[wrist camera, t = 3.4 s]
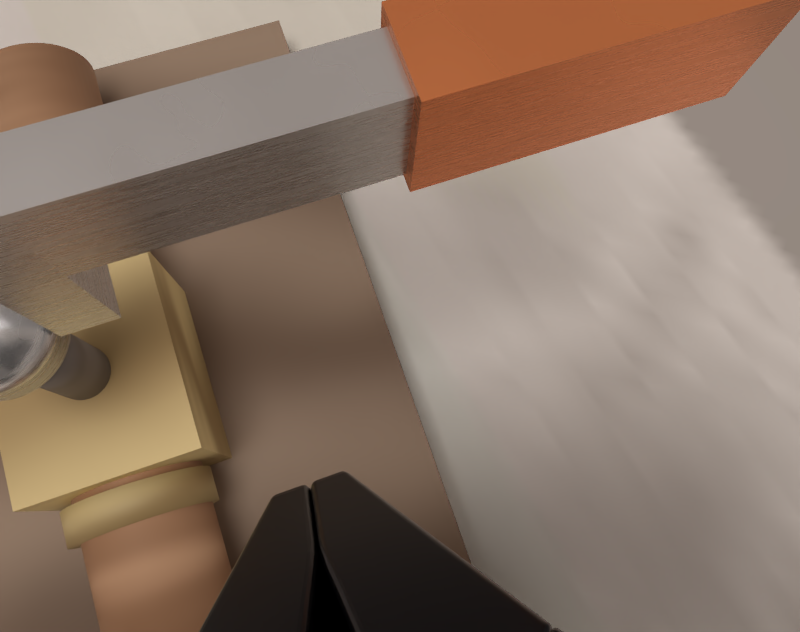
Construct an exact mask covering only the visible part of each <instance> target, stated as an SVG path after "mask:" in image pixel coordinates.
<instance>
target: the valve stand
mask: <svg viewBox="0 0 800 632" xmlns="http://www.w3.org/2000/svg"><path fill="white" fill-rule="evenodd" d="M289 53H290V51H289V48H288V45H287V42H286V40H285V37H284V34H283V31H282V28H281V26H280V23H279V21H275V22H272V23H268V24H264V25H260V26H257V27H253V28H249V29H246V30H242V31H238V32H234V33H231V34H227V35H223V36H219V37H216V38H212V39H208V40H204V41H201V42H197V43H193V44H190V45H186V46H182V47H178V48H175V49H171V50H167V51H163V52H160V53H156V54H152V55H148V56H145V57H141V58H137V59H134V60H130V61H126V62H122V63H119V64H115V65H111V66H107V67H104V68H100V69H96V70H93V68H92V66H91V64H90V63H89V62H88V61H87V60H86V59H85V58H84V57H83V56H81V55H80V54H78V53H76V52H75V51H72V50H70V49H68V48H65V47H61V46H57V45H53V44H45V43H25V44H18V45H13V46H9V47H6V48H3V49H0V133H1V132H4V131H8V130H12V129H15V128H19V127H23V126H26V125H30V124H34V123H37V122H41V121H45V120H48V119H52V118H56V117H59V116H63V115H66V114H70V113H74V112H77V111H81V110H85V109H88V108H92V107H96V106H99V105H103V104H107V103H110V102H114V101H117V100H121V99H125V98H128V97H132V96H136V95H139V94H143V93H147V92H150V91H154V90H158V89H161V88H165V87H169V86H172V85H176V84H179V83H183V82H187V81H190V80H194V79H198V78H201V77H205V76H209V75H212V74H216V73H220V72H223V71H227V70H231V69H234V68H238V67H241V66H245V65H249V64H252V63H256V62H260V61H263V60H267V59H271V58H274V57H278V56H282V55H285V54H289ZM108 268H109V272H110V276H111V280H112V284H113V287H114V291H115V295H116V299H117V303H118V306H119V310H120V314H121V318H119V319H116V320H113V321H109V322H106V323H103V324H100V325H96V326H93V327H90V328H87V329H84V330H80V331H77V332H74V333H71V336H70V343H69V347H68V351H67V353H66V356H65V358H64V360H63V362H62V364H61V366H60V367H59V368H58V370H57V371H56V373H55V374H54V375H53V376H52V377H51V378H50V379H49V380H48V381H47V382H46V383H45V384H43V385H42V386H41V387H39V388H38V389H36V390H35V391H33V392H31V393H29V394H27V395H25V396H22V397H20V398H16V399H12V400H7V401H0V632H199V630H200V628H201V627H202V625H203V623H204V621H205V619H206V617H207V615H208V614H209V612H210V610H211V608H212V606H213V604H214V603H215V601H216V599H217V597H218V595H219V593H220V591H221V590H222V588H223V586H224V584H225V582H226V580H227V578H228V577H229V575H230V573H231V571H232V569H233V567H234V566H235V564H236V562H237V560H238V558H239V556H240V554H241V553H242V551H243V549H244V547H245V545H246V543H247V541H248V540H249V538H250V536H251V534H252V532H253V530H254V529H255V527H256V525H257V523H258V521H259V519H260V517H261V516H262V514H263V512H264V510H265V508H266V506H267V504H268V503H269V501H270V499H271V498H272V497H273V496H274V495H276V494H279V493H281V492H284V491H287V490H290V489H293V488H296V487H298V486H301V485H306V486H308V487H309V488H310V489H311V485H312V483H313V482H314V481H316V480H318V479H321V478H324V477H327V476H330V475H332V474H335V473H338V472H341V471H345V472H348V473H349V474H351V475H352V476H353V477H355V478H356V479H357V480H359V481H360V482H361V483H363V484H364V485H365V486H367V487H368V488H369V489H371V490H372V491H373V492H375V493H376V494H377V495H379V496H380V497H381V498H383V499H384V500H385V501H387V502H388V503H389V504H391V505H392V506H393V507H395V508H396V509H397V510H399V511H400V512H401V513H403V514H404V515H405V516H407V517H408V518H409V519H411V520H412V521H413V522H415V523H416V524H417V525H419V526H420V527H421V528H423V529H424V530H425V531H427V532H428V533H429V534H431V535H432V536H433V537H435V538H436V539H437V540H439V541H440V542H441V543H443V544H444V545H445V546H447V547H448V548H449V549H451V550H452V551H453V552H455V553H456V554H457V555H459V556H460V557H461V558H463V559H464V560H465V561H467V562H468V563H470V564H471V562H470V559H469V556H468V553H467V551H466V548H465V545H464V542H463V539H462V537H461V534H460V531H459V528H458V525H457V522H456V520H455V517H454V514H453V511H452V508H451V505H450V503H449V500H448V497H447V494H446V491H445V489H444V486H443V483H442V480H441V477H440V474H439V472H438V469H437V466H436V463H435V460H434V457H433V455H432V452H431V449H430V446H429V443H428V441H427V438H426V435H425V432H424V429H423V426H422V424H421V421H420V418H419V415H418V412H417V409H416V407H415V404H414V401H413V398H412V395H411V393H410V390H409V387H408V384H407V381H406V378H405V376H404V373H403V370H402V367H401V364H400V361H399V359H398V356H397V353H396V350H395V347H394V345H393V342H392V339H391V336H390V333H389V330H388V328H387V325H386V322H385V319H384V316H383V313H382V311H381V308H380V305H379V302H378V299H377V297H376V294H375V291H374V288H373V285H372V282H371V280H370V277H369V274H368V271H367V268H366V265H365V263H364V260H363V257H362V254H361V251H360V249H359V246H358V243H357V240H356V237H355V234H354V232H353V229H352V226H351V223H350V220H349V217H348V215H347V212H346V209H345V206H344V203H343V201H342V198H341V195H340V194H338V195H335V196H332V197H328V198H325V199H322V200H318V201H315V202H312V203H308V204H305V205H302V206H298V207H295V208H292V209H289V210H285V211H282V212H279V213H275V214H272V215H269V216H265V217H262V218H259V219H255V220H252V221H249V222H246V223H242V224H239V225H236V226H232V227H229V228H226V229H222V230H219V231H216V232H212V233H209V234H206V235H202V236H199V237H196V238H193V239H189V240H186V241H183V242H179V243H176V244H173V245H169V246H166V247H163V248H159V249H156V250H153V251H150V252H146V253H143V254H140V255H136V256H133V257H130V258H126V259H123V260H120V261H116V262H113V263H110V264H108Z"/></svg>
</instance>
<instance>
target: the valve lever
mask: <svg viewBox="0 0 800 632" xmlns="http://www.w3.org/2000/svg"><path fill="white" fill-rule="evenodd" d="M799 10H800V0H386V1H382V10H381V28H380V29H376V30H373V31H369V32H365V33H362V34H358V35H354V36H351V37H347V38H344V39H340V40H336V41H333V42H329V43H325V44H322V45H318V46H314V47H311V48H307V49H303V50H300V51H296V52H293V53H289V54H285V55H282V56H278V57H274V58H271V59H267V60H263V61H260V62H256V63H252V64H249V65H245V66H241V67H238V68H234V69H231V70H227V71H223V72H220V73H216V74H212V75H209V76H205V77H201V78H198V79H194V80H190V81H187V82H183V83H179V84H176V85H172V86H169V87H165V88H161V89H158V90H154V91H150V92H147V93H143V94H139V95H136V96H132V97H128V98H125V99H121V100H117V101H114V102H110V103H107V104H103V105H99V106H96V107H92V108H88V109H85V110H81V111H77V112H74V113H70V114H66V115H63V116H59V117H56V118H52V119H48V120H45V121H41V122H37V123H34V124H30V125H26V126H23V127H19V128H15V129H12V130H8V131H4V132H1V133H0V401H7V400H12V399H16V398H20V397H22V396H25V395H27V394H29V393H31V392H33V391H35V390H36V389H38V388H39V387H41V386H42V385H43V384H45V383H46V382H47V381H48V380H49V379H50V378H51V377H52V376H53V375H54V374H55V373H56V371H57V370H58V368H59V367H60V366H61V364H62V362H63V360H64V358H65V356H66V353H67V351H68V347H69V343H70V336H71V333H74V332H77V331H80V330H84V329H87V328H90V327H93V326H96V325H100V324H103V323H106V322H109V321H113V320H116V319H119V318H121V314H120V310H119V306H118V303H117V299H116V295H115V291H114V287H113V284H112V280H111V276H110V272H109V268H108V264H110V263H113V262H116V261H120V260H123V259H126V258H130V257H133V256H136V255H140V254H143V253H146V252H150V251H153V250H156V249H159V248H163V247H166V246H169V245H173V244H176V243H179V242H183V241H186V240H189V239H193V238H196V237H199V236H202V235H206V234H209V233H212V232H216V231H219V230H222V229H226V228H229V227H232V226H236V225H239V224H242V223H246V222H249V221H252V220H255V219H259V218H262V217H265V216H269V215H272V214H275V213H279V212H282V211H285V210H289V209H292V208H295V207H298V206H302V205H305V204H308V203H312V202H315V201H318V200H322V199H325V198H328V197H332V196H335V195H338V194H341V193H345V192H348V191H351V190H355V189H358V188H361V187H365V186H368V185H371V184H375V183H378V182H381V181H385V180H388V179H391V178H394V177H398V176H401V175H404V177H405V180H406V183H407V185H408V188H409V190H410V192H412V191H415V190H418V189H421V188H425V187H428V186H431V185H435V184H438V183H441V182H444V181H448V180H451V179H454V178H457V177H461V176H464V175H467V174H471V173H474V172H477V171H480V170H484V169H487V168H490V167H493V166H497V165H500V164H503V163H506V162H510V161H513V160H516V159H520V158H523V157H526V156H529V155H533V154H536V153H539V152H542V151H546V150H549V149H552V148H556V147H559V146H562V145H565V144H569V143H572V142H575V141H578V140H582V139H585V138H588V137H592V136H595V135H598V134H601V133H605V132H608V131H611V130H614V129H618V128H621V127H624V126H628V125H631V124H634V123H637V122H641V121H644V120H647V119H650V118H654V117H657V116H660V115H664V114H667V113H670V112H673V111H676V110H680V109H683V108H686V107H689V106H693V105H696V104H699V103H703V102H706V101H709V100H712V99H715V98H719V97H722V96H725V95H726V94H727V93H728V92H729V91H730V89H731V88H732V87H733V86H734V85H735V84H736V83H737V82H738V80H739V79H740V78H741V77H742V76H743V75H744V74H745V72H746V71H747V70H748V69H749V68H750V66H751V65H752V64H753V63H754V62H755V61H756V60H757V59H758V57H759V56H760V55H761V54H762V53H763V52H764V51H765V49H766V48H767V47H768V46H769V45H770V44H771V43H772V41H773V40H774V39H775V38H776V37H777V36H778V34H779V33H780V32H781V31H782V30H783V29H784V28H785V26H786V25H787V24H788V23H789V22H790V21H791V20H792V18H793V17H794V16H795V15H796V14H797V13H798V11H799Z"/></svg>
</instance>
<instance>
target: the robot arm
mask: <svg viewBox="0 0 800 632" xmlns="http://www.w3.org/2000/svg"><path fill="white" fill-rule="evenodd" d="M199 632H562V631H561V630H560V629H558V628H553V629H552V627H551V625H550V624H549V623H548V622H547V621H546V620H544V619H543V618H542V617H540V616H539V615H538V614H536V613H535V612H534V611H532V610H531V609H530V608H528V607H527V606H526V605H524V604H523V603H522V602H520V601H519V600H518V599H516V598H515V597H514V596H512V595H511V594H510V593H508V592H507V591H506V590H504V589H503V588H502V587H500V586H499V585H498V584H496V583H495V582H494V581H492V580H491V579H490V578H488V577H487V576H486V575H484V574H483V573H482V572H480V571H479V570H478V569H476V568H475V567H474V566H472V565H471V564H470V563H468V562H467V561H465V560H464V559H463V558H461V557H460V556H459V555H457V554H456V553H455V552H453V551H452V550H451V549H449V548H448V547H447V546H445V545H444V544H443V543H441V542H440V541H439V540H437V539H436V538H435V537H433V536H432V535H431V534H429V533H428V532H427V531H425V530H424V529H423V528H421V527H420V526H419V525H417V524H416V523H415V522H413V521H412V520H411V519H409V518H408V517H407V516H405V515H404V514H403V513H401V512H400V511H399V510H397V509H396V508H395V507H393V506H392V505H391V504H389V503H388V502H387V501H385V500H384V499H383V498H381V497H380V496H379V495H377V494H376V493H375V492H373V491H372V490H371V489H369V488H368V487H367V486H365V485H364V484H363V483H361V482H360V481H359V480H357V479H356V478H355V477H353V476H352V475H351V474H349V473H348V472H345V471H341V472H338V473H335V474H332V475H330V476H327V477H324V478H321V479H318V480H316V481H314V482H313V483H312V485H311V489H310V488H309V487H308V486H306V485H301V486H298V487H296V488H293V489H290V490H287V491H284V492H281V493H279V494H276V495H274V496H273V497H272V498H271V499H270V501H269V503H268V504H267V506H266V508H265V510H264V512H263V514H262V516H261V517H260V519H259V521H258V523H257V525H256V527H255V529H254V530H253V532H252V534H251V536H250V538H249V540H248V541H247V543H246V545H245V547H244V549H243V551H242V553H241V554H240V556H239V558H238V560H237V562H236V564H235V566H234V567H233V569H232V571H231V573H230V575H229V577H228V578H227V580H226V582H225V584H224V586H223V588H222V590H221V591H220V593H219V595H218V597H217V599H216V601H215V603H214V604H213V606H212V608H211V610H210V612H209V614H208V615H207V617H206V619H205V621H204V623H203V625H202V627H201V628H200V630H199Z"/></svg>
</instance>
